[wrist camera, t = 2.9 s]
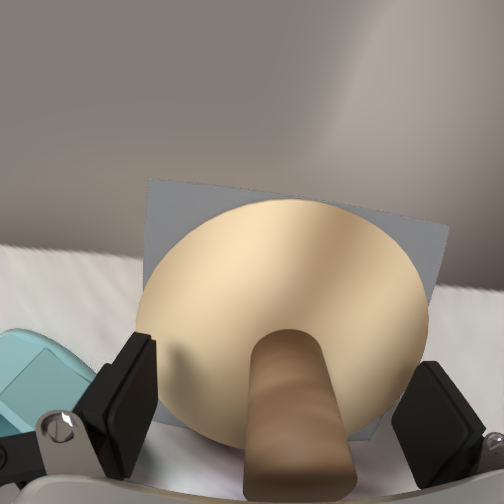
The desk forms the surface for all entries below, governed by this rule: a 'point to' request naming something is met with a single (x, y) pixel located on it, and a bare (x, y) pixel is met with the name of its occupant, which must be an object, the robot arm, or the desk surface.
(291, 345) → the lid
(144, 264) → the mat
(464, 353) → the desk surface
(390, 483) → the desk surface
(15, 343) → the bowl
